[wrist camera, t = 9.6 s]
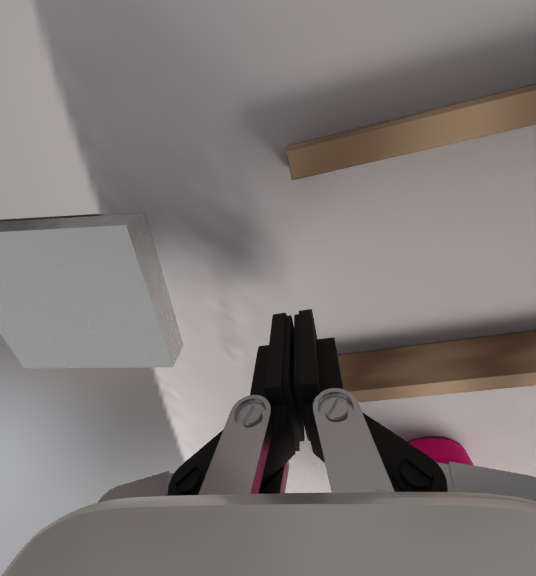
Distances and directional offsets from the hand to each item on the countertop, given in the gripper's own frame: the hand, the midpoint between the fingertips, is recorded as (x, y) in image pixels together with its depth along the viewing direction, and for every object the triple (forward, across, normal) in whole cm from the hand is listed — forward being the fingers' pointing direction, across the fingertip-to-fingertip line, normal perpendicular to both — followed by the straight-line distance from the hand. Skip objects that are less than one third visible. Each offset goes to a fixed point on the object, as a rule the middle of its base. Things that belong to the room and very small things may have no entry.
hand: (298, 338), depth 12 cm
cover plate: (+5, +13, -2) cm, 14 cm away
